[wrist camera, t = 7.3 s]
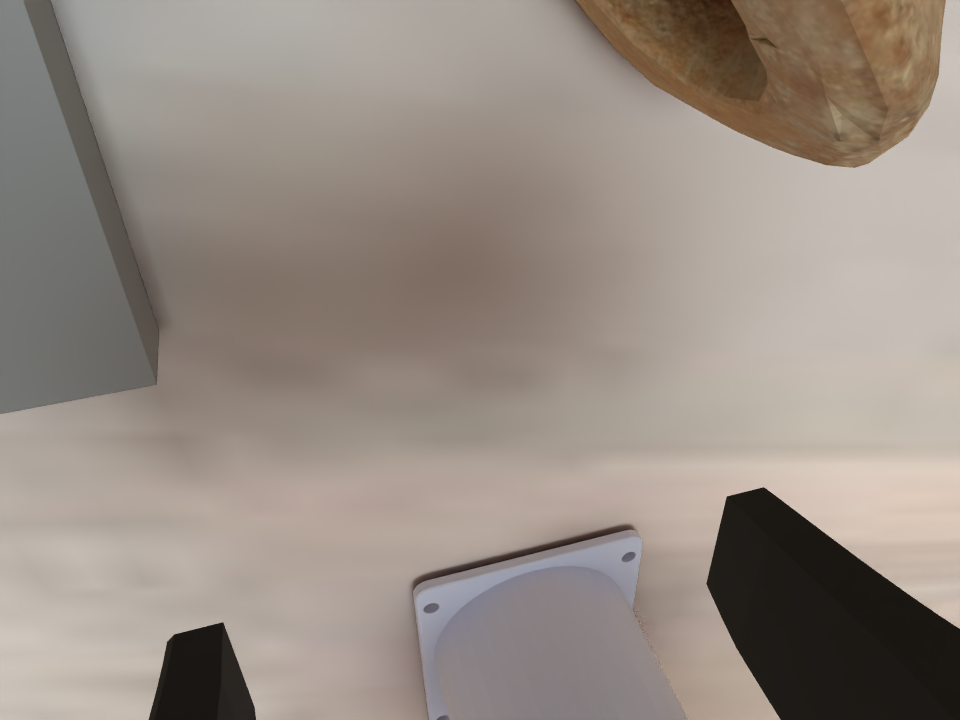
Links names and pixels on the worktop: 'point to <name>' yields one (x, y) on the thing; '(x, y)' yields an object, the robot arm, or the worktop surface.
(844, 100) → the pipe
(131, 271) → the slate base
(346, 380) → the worktop surface
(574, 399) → the worktop surface
